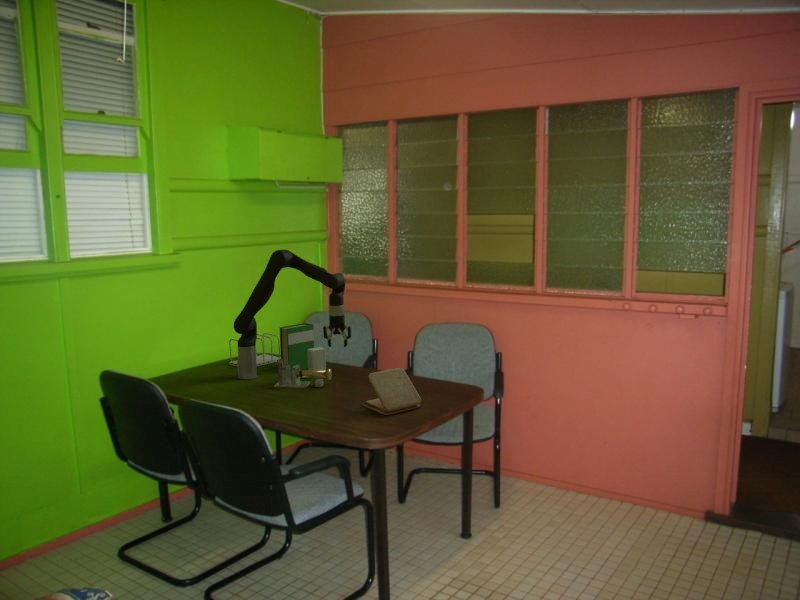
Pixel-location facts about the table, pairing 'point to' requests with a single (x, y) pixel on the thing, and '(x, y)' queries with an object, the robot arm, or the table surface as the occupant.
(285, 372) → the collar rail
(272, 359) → the file sorter
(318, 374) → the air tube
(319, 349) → the skincare box
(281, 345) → the hardback book
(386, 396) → the case
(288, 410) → the table surface
